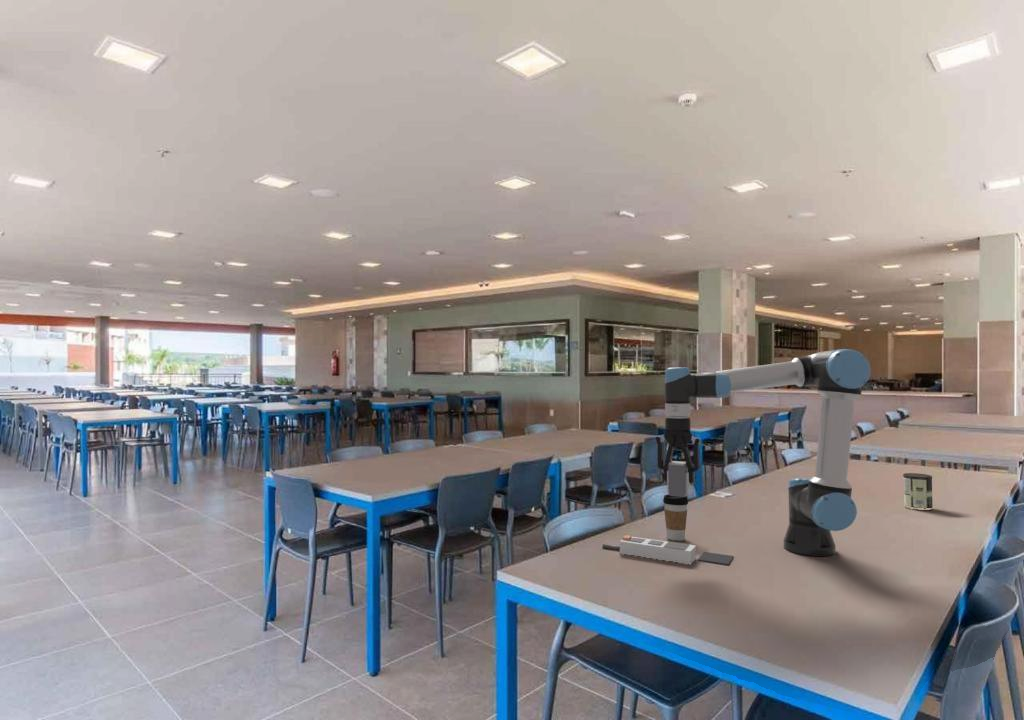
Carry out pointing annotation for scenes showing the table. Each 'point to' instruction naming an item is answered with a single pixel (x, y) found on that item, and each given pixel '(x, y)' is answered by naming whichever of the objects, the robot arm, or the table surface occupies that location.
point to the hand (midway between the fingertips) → (678, 492)
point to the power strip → (656, 549)
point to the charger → (677, 478)
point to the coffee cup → (675, 516)
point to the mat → (716, 558)
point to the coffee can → (917, 490)
